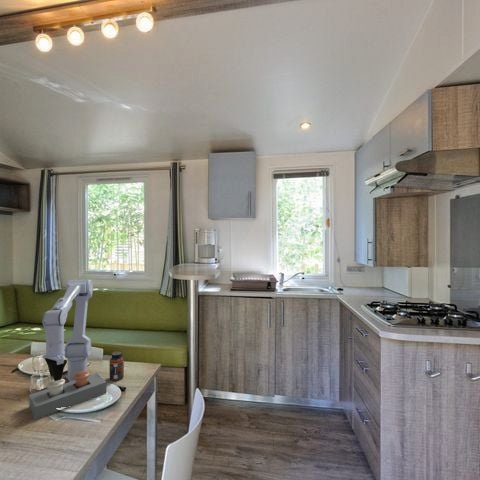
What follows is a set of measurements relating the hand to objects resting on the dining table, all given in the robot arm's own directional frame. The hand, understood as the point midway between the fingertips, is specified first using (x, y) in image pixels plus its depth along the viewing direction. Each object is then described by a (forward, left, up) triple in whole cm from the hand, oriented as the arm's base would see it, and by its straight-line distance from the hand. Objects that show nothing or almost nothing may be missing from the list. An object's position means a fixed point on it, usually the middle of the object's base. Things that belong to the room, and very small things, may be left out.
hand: (55, 377), depth 110 cm
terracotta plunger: (0, +9, -6) cm, 11 cm away
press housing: (0, +4, -10) cm, 11 cm away
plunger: (0, 0, -6) cm, 6 cm away
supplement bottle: (-4, +24, -11) cm, 27 cm away
